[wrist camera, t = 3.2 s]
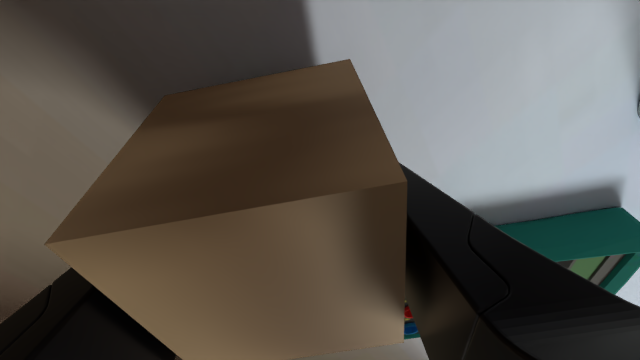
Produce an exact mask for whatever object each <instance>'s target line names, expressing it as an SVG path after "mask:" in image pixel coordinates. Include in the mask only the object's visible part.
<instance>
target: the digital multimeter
mask: <svg viewBox="0 0 640 360" xmlns="http://www.w3.org/2000/svg"><path fill="white" fill-rule="evenodd" d="M495 227H497V228H498V229H500V230H501V231H503V232H504V233H506V234H508V235H509V236H511V237H512V238H514V239H516V240H517V241H519V242H521V243H523V244H524V245H526V246H528V247H530V248H531V249H533V250H535V251H537V252H538V253H540V254H542V255H544V256H545V257H547V258H549V259H551V260H553V261H554V262H556V263H558V264H560V265H562V266H564V267H565V268H567V269H569V270H571V271H573V272H574V273H576V274H578V275H580V276H582V277H583V278H585V279H587V280H589V281H591V282H593V283H594V284H596V285H598V286H600V287H602V288H603V289H605V290H607V291H609V292H611V293H612V294H614V295H615V294H616V293H617V292H618V291H619V290H620V289H621V288H622V287H623V286H624V284H625V283H626V282H627V281H628V280H629V279H630V278H631V277H632V275H633V274H634V273H635V272H636V271H637V270H638V268H639V267H640V222H639V221H638V220H637V219H635V218H634V217H633V216H632V215H631V214H629V213H628V212H627V211H626V210H625V209H623V208H608V209H601V210H594V211H586V212H580V213H574V214H568V215H562V216H556V217H550V218H544V219H538V220H532V221H525V222H518V223H510V224H503V225H496V226H495ZM418 337H420V334H419V332H418V329H417V327H416V324H415V321H414V319H413V316H412V314H411V311H410V308H409V306H408V303H407V301H406V298H405V309H404V339H411V338H418Z"/></svg>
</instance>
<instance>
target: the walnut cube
mask: <svg viewBox="0 0 640 360" xmlns="http://www.w3.org/2000/svg"><path fill="white" fill-rule="evenodd" d="M406 220H407V179H406V177H405V175H404V173H403V171H402V169H401V167H400V165H399V162H398V160H397V158H396V156H395V154H394V152H393V150H392V147H391V145H390V143H389V141H388V139H387V137H386V135H385V133H384V130H383V128H382V126H381V124H380V122H379V120H378V118H377V116H376V113H375V111H374V109H373V107H372V105H371V103H370V101H369V99H368V96H367V94H366V92H365V90H364V88H363V86H362V84H361V82H360V79H359V77H358V75H357V73H356V71H355V69H354V67H353V64H352V62H351V60H350V59H348V60H343V61H338V62H332V63H327V64H322V65H317V66H312V67H307V68H302V69H297V70H292V71H287V72H282V73H277V74H271V75H266V76H261V77H256V78H251V79H246V80H241V81H236V82H231V83H226V84H221V85H216V86H211V87H205V88H200V89H195V90H190V91H185V92H180V93H175V94H170V95H165V96H164V97H163V98H162V100H161V101H160V102H159V103H158V105H157V106H156V107H155V108H154V109H153V111H152V112H151V113H150V114H149V116H148V117H147V118H146V119H145V121H144V122H143V123H142V124H141V126H140V127H139V128H138V129H137V130H136V132H135V133H134V134H133V135H132V137H131V138H130V139H129V140H128V142H127V143H126V144H125V145H124V147H123V148H122V149H121V150H120V151H119V153H118V154H117V155H116V156H115V158H114V159H113V160H112V161H111V163H110V164H109V165H108V166H107V168H106V169H105V170H104V171H103V172H102V174H101V175H100V176H99V177H98V179H97V180H96V181H95V182H94V184H93V185H92V186H91V187H90V188H89V190H88V191H87V192H86V193H85V195H84V196H83V197H82V198H81V200H80V201H79V202H78V203H77V205H76V206H75V207H74V208H73V209H72V211H71V212H70V213H69V214H68V216H67V217H66V218H65V219H64V221H63V222H62V223H61V224H60V226H59V227H58V228H57V229H56V230H55V232H54V233H53V234H52V235H51V237H50V238H49V239H48V240H47V242H46V243H45V244H44V245H46V246H47V247H48V248H49V249H50V250H52V251H53V252H54V253H55V254H56V255H58V256H59V257H60V258H61V259H62V260H64V261H65V262H66V263H67V264H68V265H70V266H71V267H72V268H73V269H74V270H76V271H77V272H78V273H79V274H80V275H82V276H83V277H84V278H85V279H86V280H88V281H89V282H90V283H91V284H92V285H94V286H95V287H96V288H97V289H98V290H100V291H101V292H102V293H103V294H104V295H106V296H107V297H108V298H109V299H110V300H112V301H113V302H114V303H115V304H116V305H118V306H119V307H120V308H121V309H122V310H124V311H125V312H126V313H127V314H128V315H130V316H131V317H132V318H133V319H134V320H136V321H137V322H138V323H139V324H140V325H142V326H143V327H144V328H145V329H146V330H148V331H149V332H150V333H151V334H152V335H154V336H155V337H156V338H157V339H158V340H160V341H161V342H162V343H163V344H164V345H166V346H167V347H168V348H169V349H170V350H172V351H173V352H174V353H175V354H176V355H178V356H179V357H180V358H181V359H182V360H288V359H295V358H302V357H309V356H316V355H322V354H329V353H336V352H343V351H350V350H357V349H364V348H370V347H377V346H384V345H391V344H398V343H404V309H405V264H406Z"/></svg>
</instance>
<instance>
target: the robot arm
mask: <svg viewBox="0 0 640 360" xmlns="http://www.w3.org/2000/svg"><path fill="white" fill-rule="evenodd" d="M399 165H400V167H401V169H402V171H403V173H404V175H405V177H406V179H407V220H406V264H405V298H406V301H407V303H408V306H409V308H410V311H411V314H412V316H413V319H414V321H415V324H416V327H417V329H418V332H419V334H420V337H421V340H422V342H423V345H424V347H425V350H426V353H427V355H428V358H429V360H640V307H639V306H637V305H635V304H632V303H630V302H628V301H626V300H624V299H622V298H620V297H618V296H616V295H614V294H612V293H611V292H609V291H607V290H605V289H603V288H602V287H600V286H598V285H596V284H594V283H593V282H591V281H589V280H587V279H585V278H583V277H582V276H580V275H578V274H576V273H574V272H573V271H571V270H569V269H567V268H565V267H564V266H562V265H560V264H558V263H556V262H554V261H553V260H551V259H549V258H547V257H545V256H544V255H542V254H540V253H538V252H537V251H535V250H533V249H531V248H530V247H528V246H526V245H524V244H523V243H521V242H519V241H517V240H516V239H514V238H512V237H511V236H509V235H508V234H506V233H504V232H503V231H501V230H500V229H498V228H497V227H495V226H493V225H492V224H490V223H489V222H487V221H486V220H484V219H483V218H481V217H480V216H478V215H477V214H475V215H474V213H473V212H472V211H471V210H469V209H468V208H466V207H465V206H463V205H462V204H460V203H459V202H457V201H456V200H454V199H453V198H451V197H450V196H448V195H447V194H445V193H444V192H442V191H441V190H439V189H438V188H436V187H435V186H433V185H432V184H430V183H429V182H427V181H426V180H425V179H423V178H422V177H420V176H419V175H417V174H416V173H414V172H413V171H411V170H410V169H408V168H407V167H405V166H404V165H402V164H401V163H399ZM175 356H176V354H175V353H174V352H173V351H172V350H170V349H169V348H168V347H167V346H166V345H164V344H163V343H162V342H161V341H160V340H158V339H157V338H156V337H155V336H154V335H152V334H151V333H150V332H149V331H148V330H146V329H145V328H144V327H143V326H142V325H140V324H139V323H138V322H137V321H136V320H134V319H133V318H132V317H131V316H130V315H128V314H127V313H126V312H125V311H124V310H122V309H121V308H120V307H119V306H118V305H116V304H115V303H114V302H113V301H112V300H110V299H109V298H108V297H107V296H106V295H104V294H103V293H102V292H101V291H100V290H98V289H97V288H96V287H95V286H94V285H92V284H91V283H90V282H89V281H88V280H86V279H85V278H84V277H83V276H82V275H80V274H79V273H78V272H77V271H76V270H74V269H73V268H72V267H71V268H70V269H69V270H67V271H66V272H65V273H64V274H63V275H61V276H60V277H59V278H58V279H56V280H55V281H54V282H53V283H52V285H49V286H48V287H46V288H45V289H44V290H43V291H41V292H40V293H39V294H38V295H37V296H35V297H34V298H33V299H32V300H30V301H29V302H28V303H27V304H25V305H24V306H23V307H21V308H20V309H19V310H18V311H16V312H15V313H14V314H13V315H11V316H10V317H9V318H8V319H6V320H5V321H4V322H2V323H1V324H0V360H175Z"/></svg>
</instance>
